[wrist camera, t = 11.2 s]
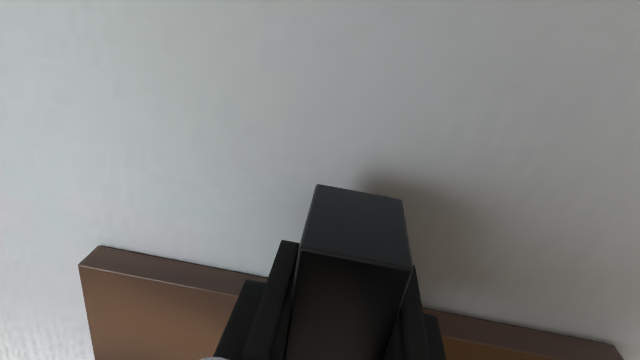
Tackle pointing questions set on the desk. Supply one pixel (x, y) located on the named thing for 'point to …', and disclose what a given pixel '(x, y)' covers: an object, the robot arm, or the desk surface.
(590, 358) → the cake board
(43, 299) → the desk surface
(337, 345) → the knife
